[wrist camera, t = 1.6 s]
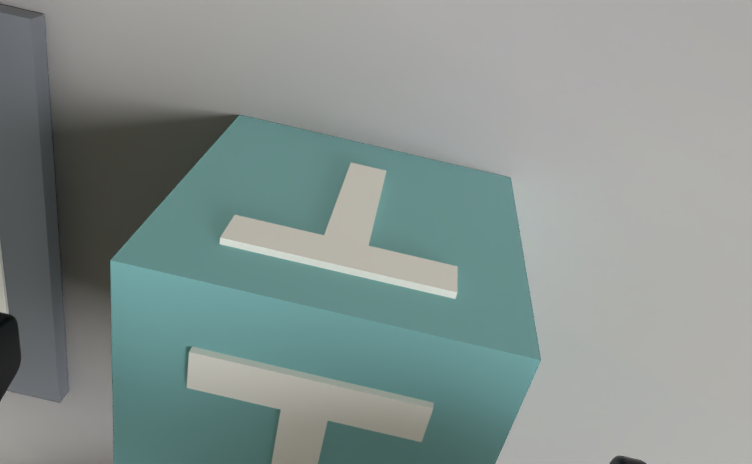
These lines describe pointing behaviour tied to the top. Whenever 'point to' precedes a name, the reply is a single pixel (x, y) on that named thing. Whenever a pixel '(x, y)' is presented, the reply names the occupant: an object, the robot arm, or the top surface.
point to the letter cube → (321, 309)
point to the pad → (30, 208)
